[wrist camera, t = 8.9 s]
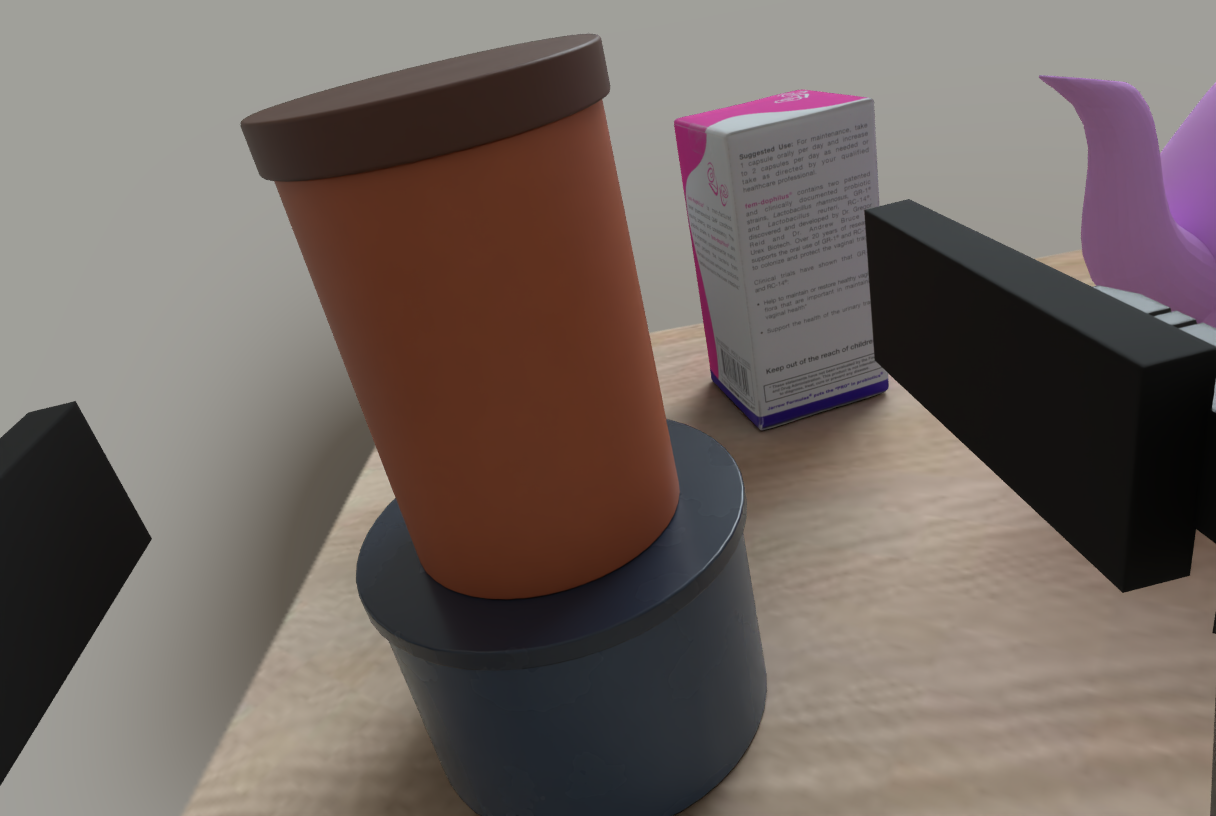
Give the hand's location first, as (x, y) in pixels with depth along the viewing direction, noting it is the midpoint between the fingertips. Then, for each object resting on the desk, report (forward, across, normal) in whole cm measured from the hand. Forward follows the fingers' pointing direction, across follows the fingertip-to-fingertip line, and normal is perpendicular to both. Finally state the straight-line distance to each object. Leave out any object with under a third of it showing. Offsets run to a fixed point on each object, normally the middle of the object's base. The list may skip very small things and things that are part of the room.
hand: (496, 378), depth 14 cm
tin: (+4, 0, -12) cm, 12 cm away
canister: (+4, 0, -6) cm, 7 cm away
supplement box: (+19, +10, -12) cm, 24 cm away
